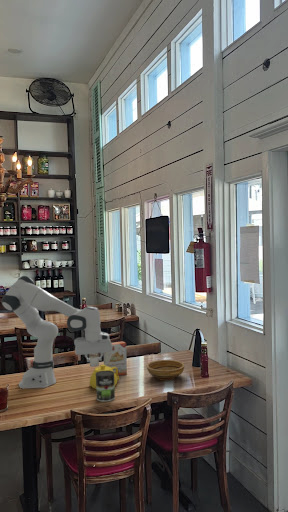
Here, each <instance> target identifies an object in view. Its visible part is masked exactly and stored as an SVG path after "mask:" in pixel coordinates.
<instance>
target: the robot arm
mask: <svg viewBox="0 0 288 512" xmlns="http://www.w3.org/2000/svg"><path fill="white" fill-rule="evenodd" d="M0 302H1V305H2V306H3V308H5V309H6V310H8V311H10V312H13V313H14V314H15V315H16V316H17V317H18V318H19V320H20V321H21V322H22V323H23V324H24V326H25V328H26V331H27V333H28V334H29V335H31V336H32V337H34V338H37V342H36V345H35V346H34V348H33V356H34V357H33V360H30V368H28V369H27V370H26V371H25V373H23V375H22V379H21V380H20V382H19V383H18V388H19V387H20V389H21V388H22V390H23V389H24V388H26V389H40V388H41V389H45V388H48V387H49V386H53V385H54V384H56V382H57V379H56V377H55V376H56V375H55V371H54V368H55V363H54V358H53V346H54V342H55V339H56V337H57V336H58V334H59V328H58V325H56V324H55V323H53V322H51V321H49V320H48V321H47V320H44V319H43V318H42V317H41V316H40V314H39V311H41V312H51V311H52V312H54V311H55V312H57V313H59V314H61V315H63V316H66V317H67V320H66V326H67V328H68V329H69V330H70V331H72V332H79V331H84V336H82V337H76V338H74V340H73V344H74V346H75V347H74V352H75V355H76V356H81V355H84V357H85V358H86V362H87V363H90V358H89V354H94V353H98V354H99V362H101V361H103V359H102V358H103V357H104V352H111V351H112V343H113V342H112V341H111V339H110V334H109V333H108V332H104V331H102V329H101V324H102V323H101V313H100V312H101V311H100V310H99V308H98V307H96V306H91V305H90V306H85V307H84V308H83V309H80V308H77V307H74V306H72V305H71V304H69V303H67V302H65V301H63V300H61V299H59V298H57V297H56V296H54V295H53V294H51V293H49V292H48V291H47V290H44V288H42V287H39V286H38V285H36V284H35V281H34V280H33V279H32V278H31V277H29V276H26V275H22V276H20V277H19V278H18V279H17V280H16V281H15V282H14V283H12V285H11V286H10V288H9V289H8V290H7V291H6V292H5V294H4V295H3V296H2V298H1V300H0Z"/></svg>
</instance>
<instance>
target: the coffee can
mask: <svg viewBox="0 0 288 512" xmlns="http://www.w3.org/2000/svg"><path fill="white" fill-rule="evenodd" d="M115 389H116V387H115V386H114V372H113V371H99V372H97V373H96V389H95V390H96V400H97V402H103V403H104V402H111V401H114V400H115V399H116V395H115Z"/></svg>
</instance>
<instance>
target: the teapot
mask: <svg viewBox="0 0 288 512" xmlns="http://www.w3.org/2000/svg"><path fill="white" fill-rule="evenodd" d="M113 369H116V373H114V387H115V386H117V383H118V381H119V380H120V376H117V375H118V369H117V368H116V367H112V368H111V367H108V366H106V365H104V364H99V366H96V367H95V368H94V370H93V371H92V372H91V375H90V378H89V385H90V387H92V389H94V390H96V373H97V372H99V371H113ZM113 372H114V371H113Z"/></svg>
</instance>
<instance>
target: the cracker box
mask: <svg viewBox="0 0 288 512" xmlns="http://www.w3.org/2000/svg"><path fill="white" fill-rule="evenodd" d="M111 343H112V351H111V352H104V353H103V365H106V366H108V367H111V368H112V367H116V368H117V369H118V375H117V376H119V377H120V376H124V375H125V376H126V375H127V374H128V368H127V365H128V364H127V363H128V362H127V360H128V359H127V343H126V342H125V341H116V342H111ZM113 371H114V373H116V369H113Z"/></svg>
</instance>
